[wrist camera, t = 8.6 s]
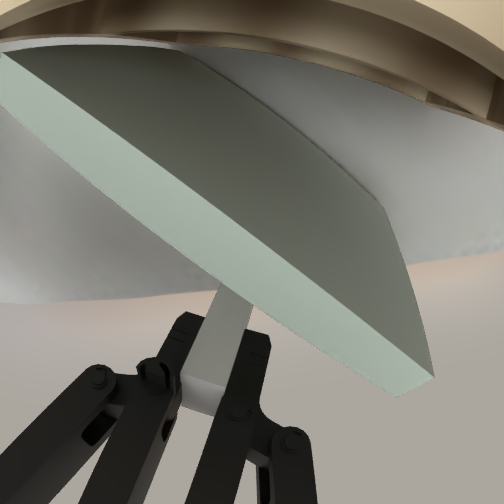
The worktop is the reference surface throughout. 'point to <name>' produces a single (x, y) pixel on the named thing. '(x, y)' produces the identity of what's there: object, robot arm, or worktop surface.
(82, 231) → the worktop surface
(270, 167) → the door
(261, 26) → the cabinet
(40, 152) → the worktop surface
